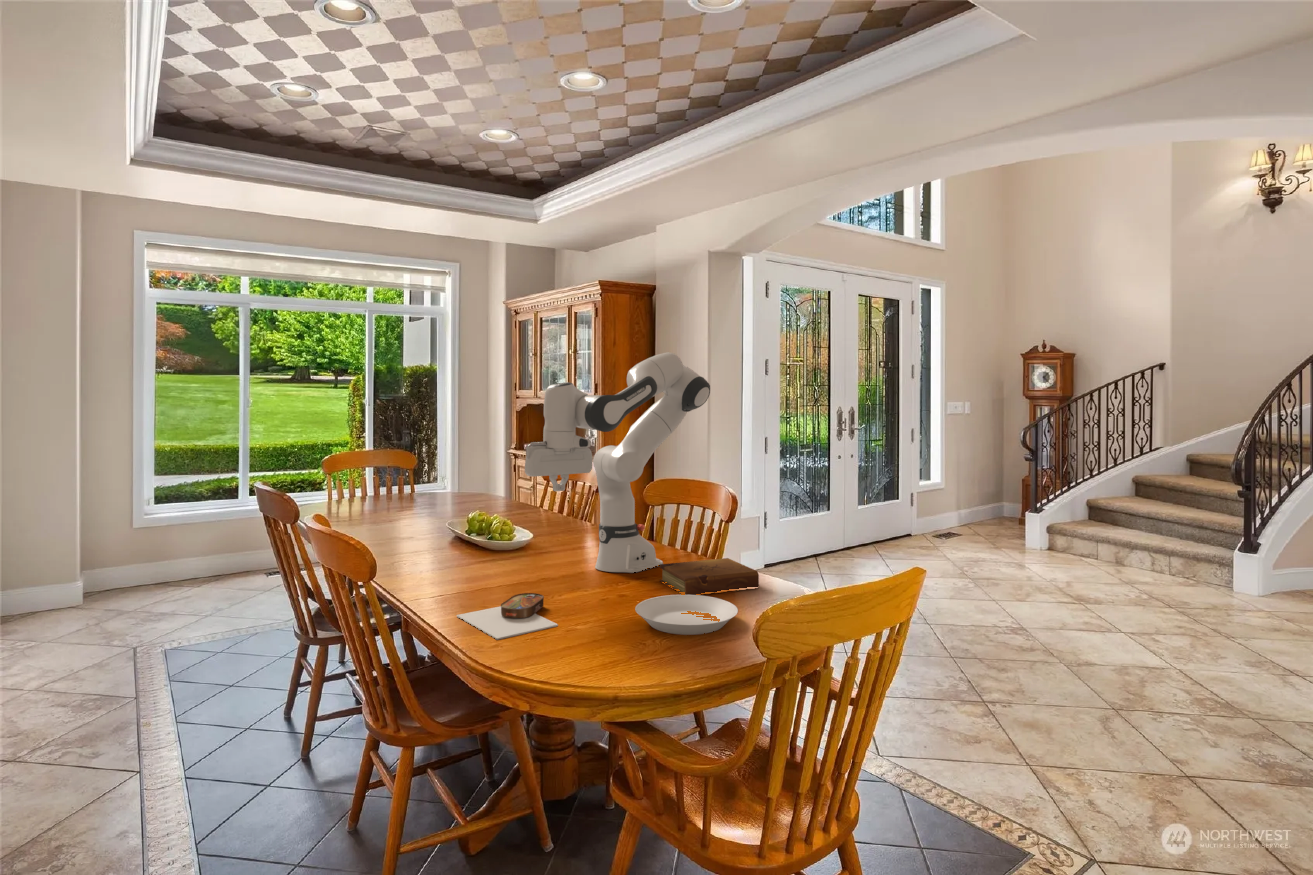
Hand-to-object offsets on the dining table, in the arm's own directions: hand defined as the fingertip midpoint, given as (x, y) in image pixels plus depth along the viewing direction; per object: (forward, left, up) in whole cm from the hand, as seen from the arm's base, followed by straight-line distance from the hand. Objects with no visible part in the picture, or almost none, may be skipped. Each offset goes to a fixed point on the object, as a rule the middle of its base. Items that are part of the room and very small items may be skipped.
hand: (558, 490), depth 200 cm
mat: (+24, +14, -29) cm, 40 cm away
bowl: (-10, +42, -29) cm, 52 cm away
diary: (-38, +20, -29) cm, 52 cm away
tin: (+14, +13, -27) cm, 34 cm away
